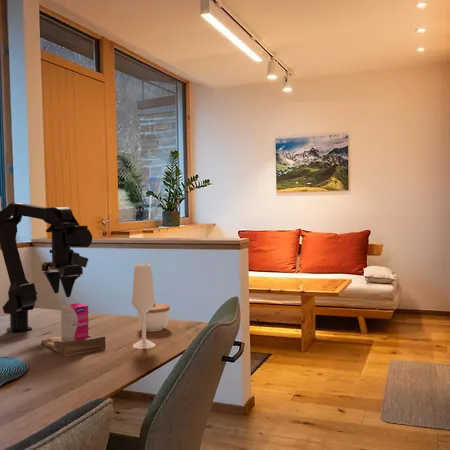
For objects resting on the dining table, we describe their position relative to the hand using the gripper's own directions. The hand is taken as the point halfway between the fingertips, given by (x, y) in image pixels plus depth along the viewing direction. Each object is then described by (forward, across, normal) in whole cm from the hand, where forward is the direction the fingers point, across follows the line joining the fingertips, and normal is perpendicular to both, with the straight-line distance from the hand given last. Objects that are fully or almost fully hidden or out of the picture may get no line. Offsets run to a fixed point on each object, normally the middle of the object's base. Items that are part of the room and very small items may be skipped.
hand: (62, 295), depth 167 cm
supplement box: (+12, -16, +3) cm, 20 cm away
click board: (+13, -14, +3) cm, 19 cm away
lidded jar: (+13, -13, -26) cm, 32 cm away
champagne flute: (+13, -28, -13) cm, 34 cm away
